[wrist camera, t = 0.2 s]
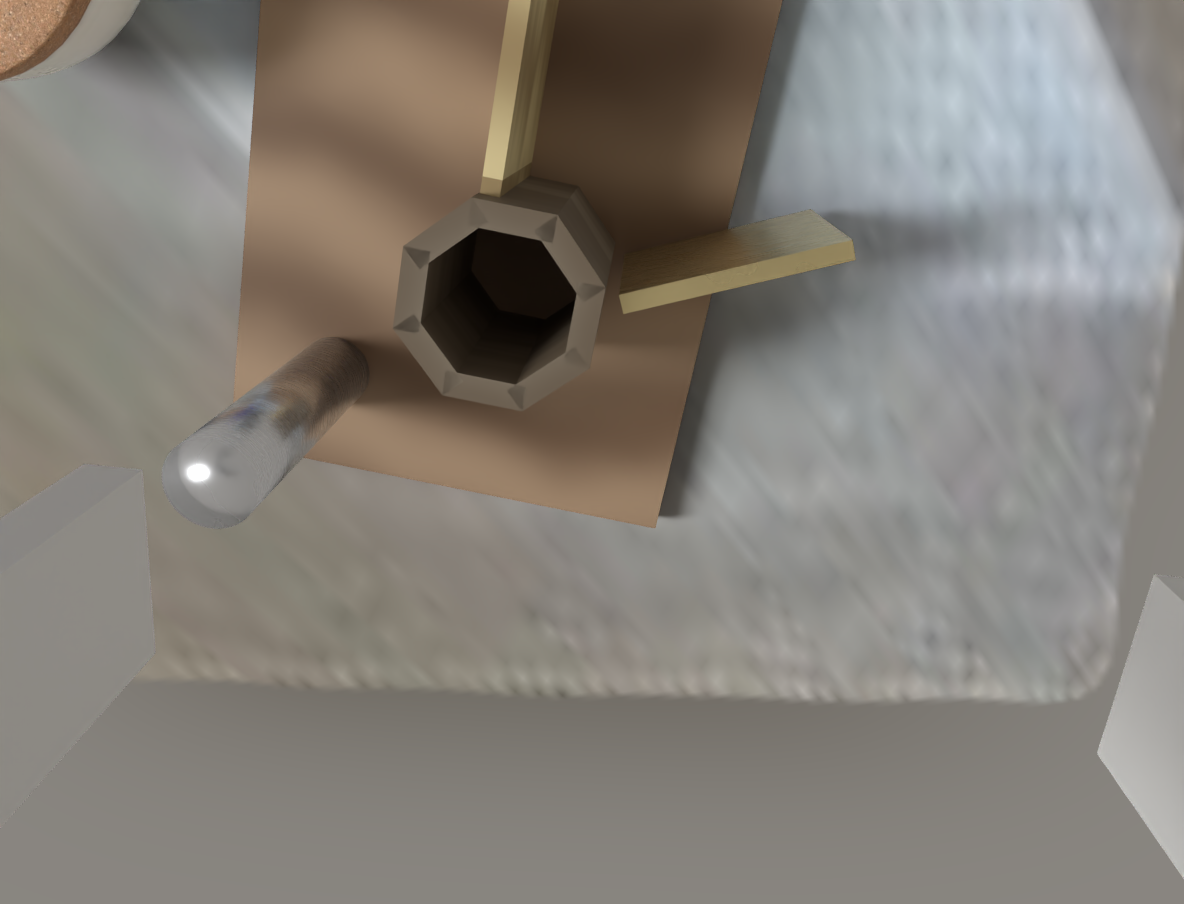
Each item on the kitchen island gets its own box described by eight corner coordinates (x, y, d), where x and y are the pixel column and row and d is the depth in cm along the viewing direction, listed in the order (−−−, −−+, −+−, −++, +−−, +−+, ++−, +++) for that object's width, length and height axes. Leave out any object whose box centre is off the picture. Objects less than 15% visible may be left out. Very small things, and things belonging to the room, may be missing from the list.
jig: (288, -218, 33) (144, -342, 24) (804, -108, 34) (866, -186, 24) (241, 433, 42) (121, 535, 32) (655, 516, 42) (657, 642, 32)
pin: (303, 330, 39) (163, 429, 28) (373, 344, 39) (261, 448, 28) (297, 396, 40) (159, 517, 28) (365, 410, 40) (254, 536, 29)
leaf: (810, 209, 36) (852, 239, 29) (813, 225, 36) (855, 260, 29) (624, 253, 37) (618, 294, 29) (628, 269, 37) (623, 313, 30)
